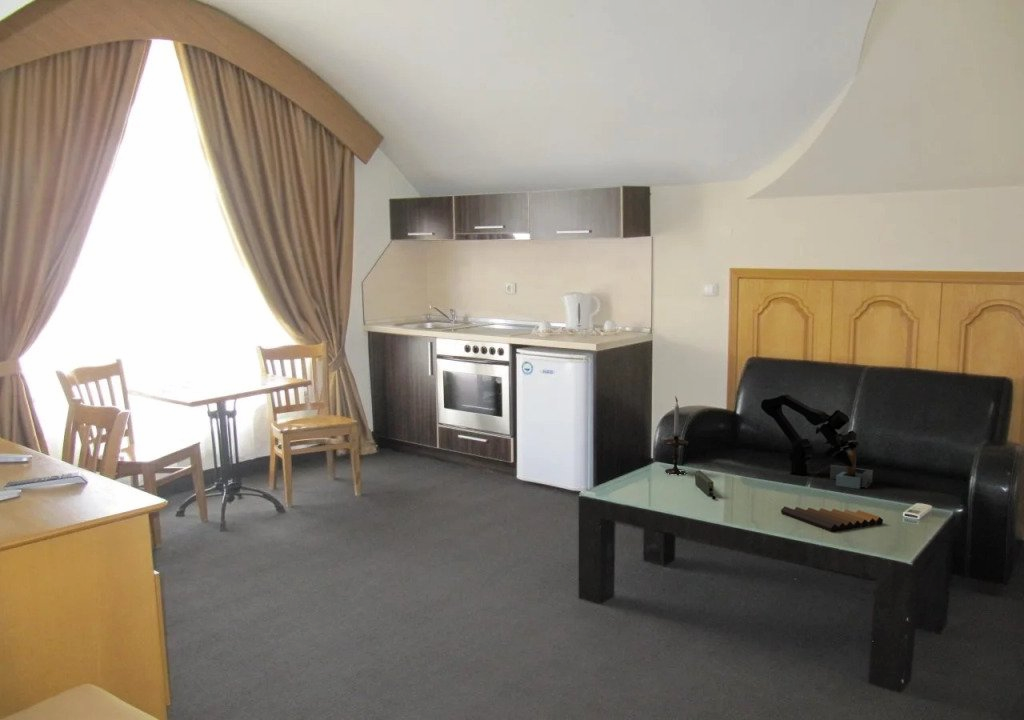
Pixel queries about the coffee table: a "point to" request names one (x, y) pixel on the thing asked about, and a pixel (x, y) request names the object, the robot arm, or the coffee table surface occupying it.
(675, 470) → the candlestick
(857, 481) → the socket block
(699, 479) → the handheld radio
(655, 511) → the coffee table surface
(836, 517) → the pan flute
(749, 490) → the coffee table surface
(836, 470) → the corner stop
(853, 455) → the dowel
